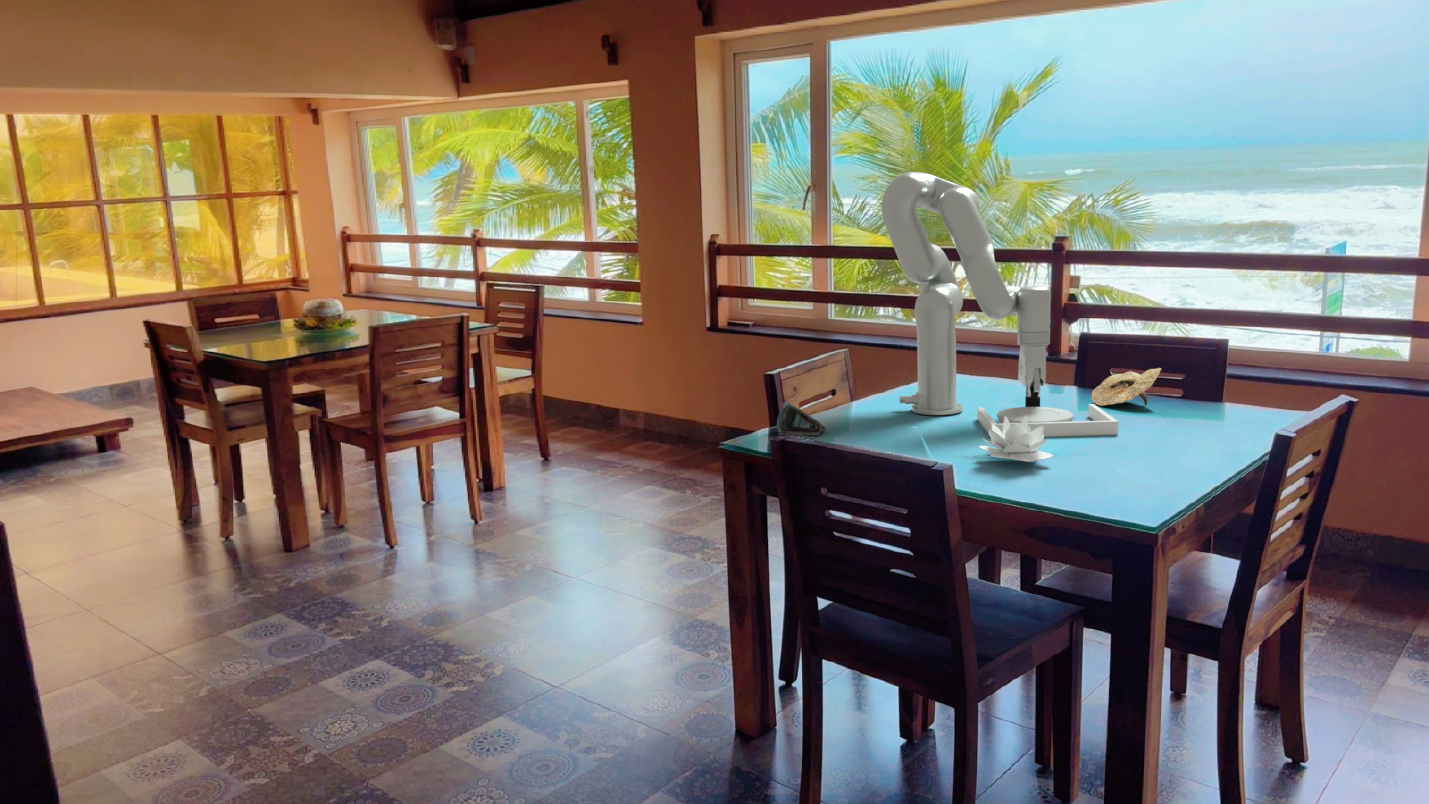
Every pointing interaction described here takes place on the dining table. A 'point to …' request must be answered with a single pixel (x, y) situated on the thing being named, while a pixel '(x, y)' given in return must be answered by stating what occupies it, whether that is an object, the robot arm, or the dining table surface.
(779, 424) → the dark rounded triangle
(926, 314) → the robot arm
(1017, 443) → the lotus flower
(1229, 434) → the dining table surface
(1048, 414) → the lid
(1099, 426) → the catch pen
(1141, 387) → the beige piece
